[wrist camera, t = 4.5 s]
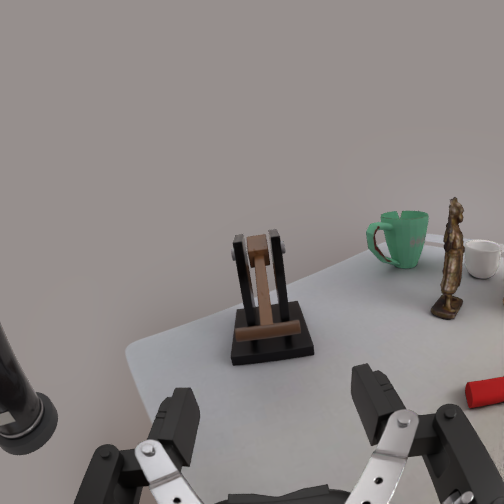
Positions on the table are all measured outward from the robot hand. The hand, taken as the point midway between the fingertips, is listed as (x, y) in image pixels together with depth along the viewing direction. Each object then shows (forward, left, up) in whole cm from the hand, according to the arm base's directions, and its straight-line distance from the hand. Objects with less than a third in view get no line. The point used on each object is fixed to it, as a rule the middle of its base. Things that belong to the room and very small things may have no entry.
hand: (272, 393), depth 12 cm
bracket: (+5, +20, -9) cm, 22 cm away
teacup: (+44, +14, -9) cm, 47 cm away
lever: (+4, +16, -1) cm, 16 cm away
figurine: (+27, +10, -9) cm, 30 cm away
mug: (+34, +28, -9) cm, 45 cm away
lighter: (+19, -5, -9) cm, 22 cm away
